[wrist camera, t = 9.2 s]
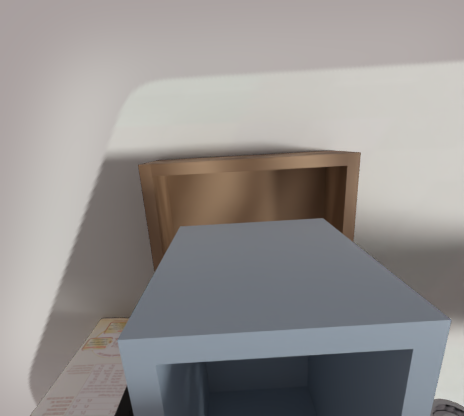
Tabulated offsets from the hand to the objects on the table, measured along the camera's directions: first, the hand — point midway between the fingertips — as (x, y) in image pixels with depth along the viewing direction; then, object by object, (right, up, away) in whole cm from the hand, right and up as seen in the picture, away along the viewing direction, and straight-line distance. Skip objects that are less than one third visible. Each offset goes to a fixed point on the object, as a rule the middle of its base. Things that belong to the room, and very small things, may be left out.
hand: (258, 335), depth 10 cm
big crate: (0, +3, +12) cm, 12 cm away
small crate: (0, 0, +1) cm, 1 cm away
